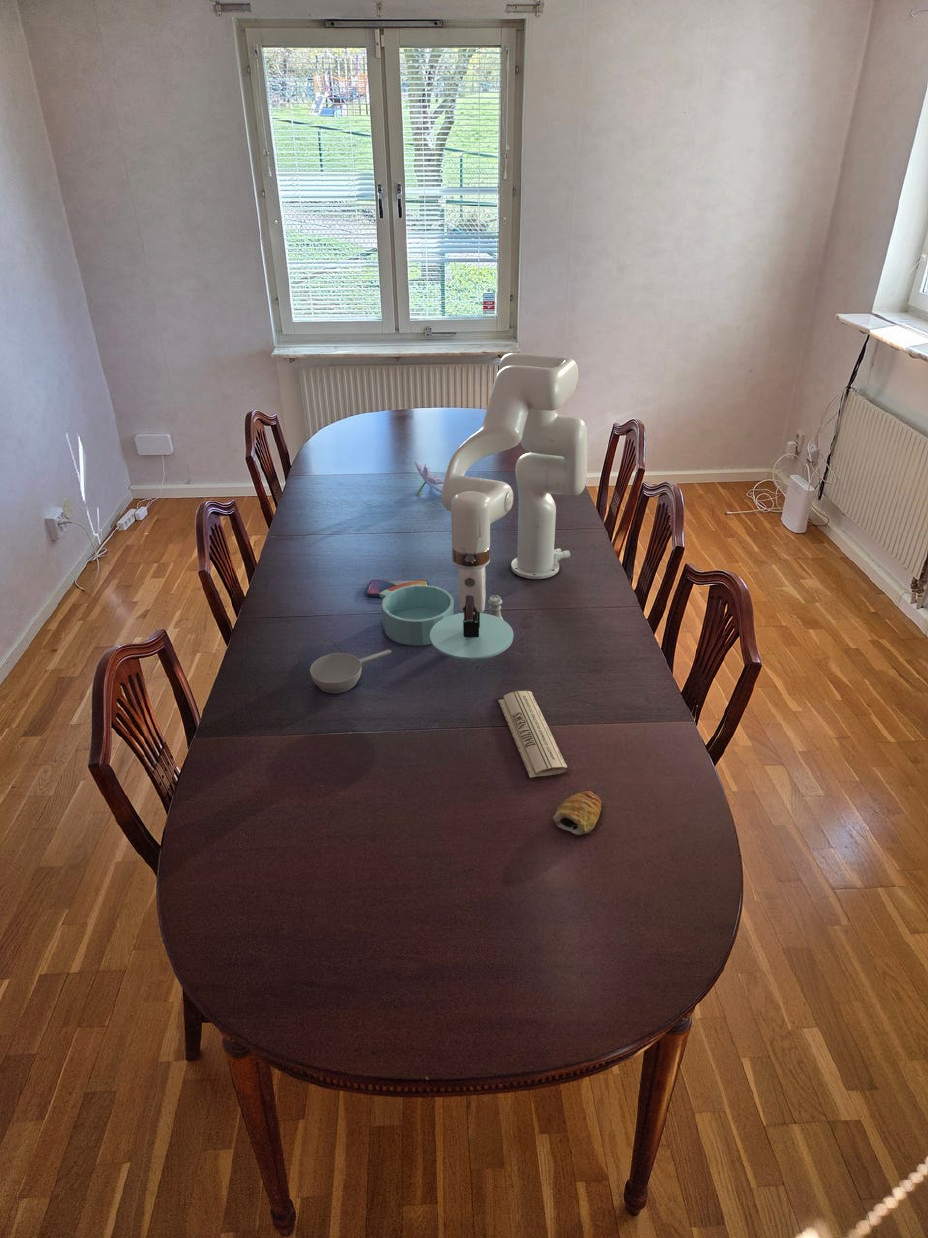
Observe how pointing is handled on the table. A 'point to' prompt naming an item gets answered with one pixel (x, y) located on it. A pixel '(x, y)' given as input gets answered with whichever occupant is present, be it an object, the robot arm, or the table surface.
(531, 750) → the newspaper
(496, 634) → the lid
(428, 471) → the water lily
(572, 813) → the pastry
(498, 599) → the rook chess piece
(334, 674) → the saucepan
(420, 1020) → the table surface
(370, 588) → the smartphone
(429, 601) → the pot
